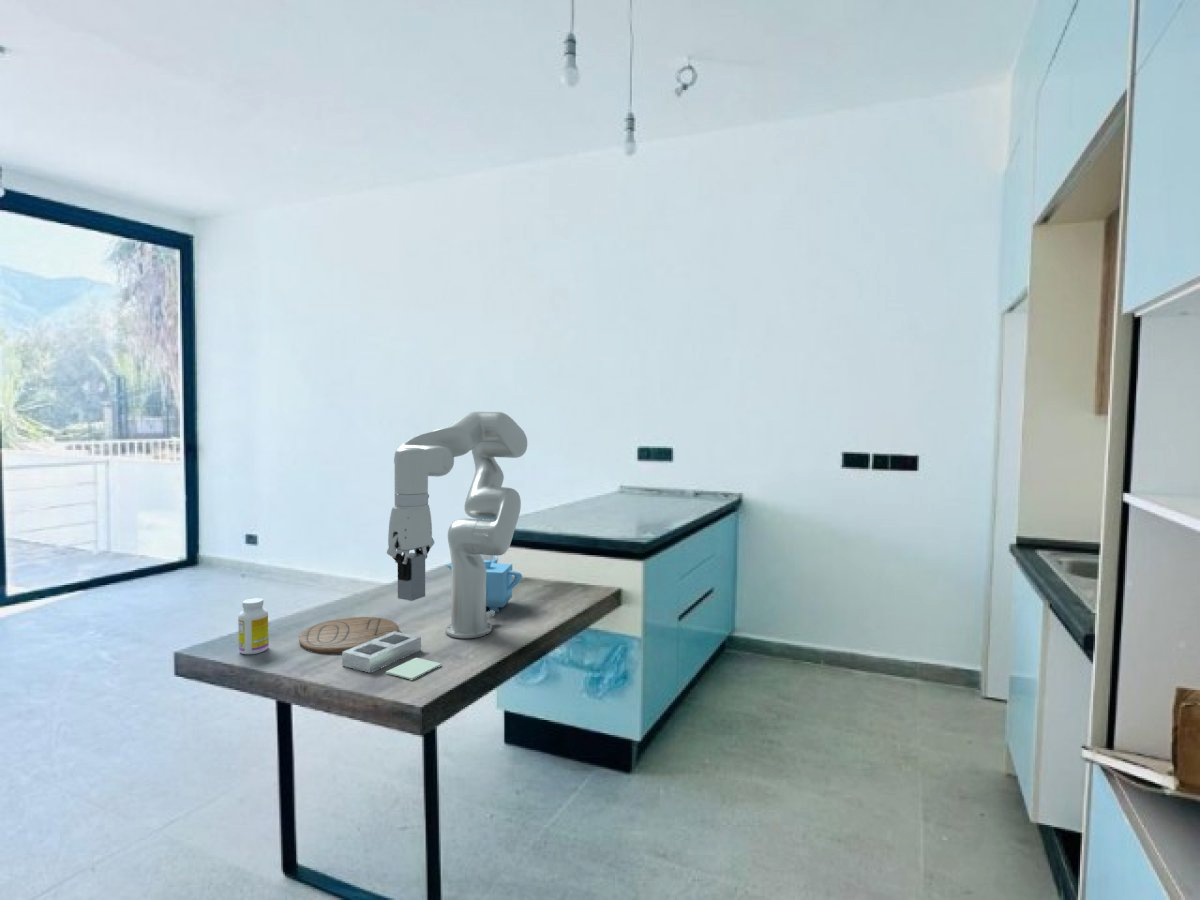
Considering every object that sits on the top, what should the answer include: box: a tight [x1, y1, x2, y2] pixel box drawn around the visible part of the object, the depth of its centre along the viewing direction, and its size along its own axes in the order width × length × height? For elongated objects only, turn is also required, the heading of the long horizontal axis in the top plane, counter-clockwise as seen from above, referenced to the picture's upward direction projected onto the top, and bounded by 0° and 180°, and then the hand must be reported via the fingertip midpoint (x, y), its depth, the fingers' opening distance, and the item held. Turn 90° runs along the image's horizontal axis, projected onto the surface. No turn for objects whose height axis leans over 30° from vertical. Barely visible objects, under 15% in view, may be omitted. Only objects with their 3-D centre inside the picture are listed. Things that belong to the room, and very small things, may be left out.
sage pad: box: [385, 657, 442, 679], centre depth 153 cm, size 10×8×1 cm
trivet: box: [298, 616, 399, 654], centre depth 175 cm, size 25×25×2 cm
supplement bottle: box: [237, 597, 269, 655], centre depth 164 cm, size 7×7×13 cm
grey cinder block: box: [341, 631, 422, 674], centre depth 160 cm, size 17×9×4 cm, turn 153°
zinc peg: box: [397, 552, 426, 602], centre depth 152 cm, size 4×4×10 cm
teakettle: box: [444, 557, 523, 612], centre depth 204 cm, size 19×19×15 cm
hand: (411, 576), depth 152 cm, fingers closed on zinc peg, 4 cm apart
